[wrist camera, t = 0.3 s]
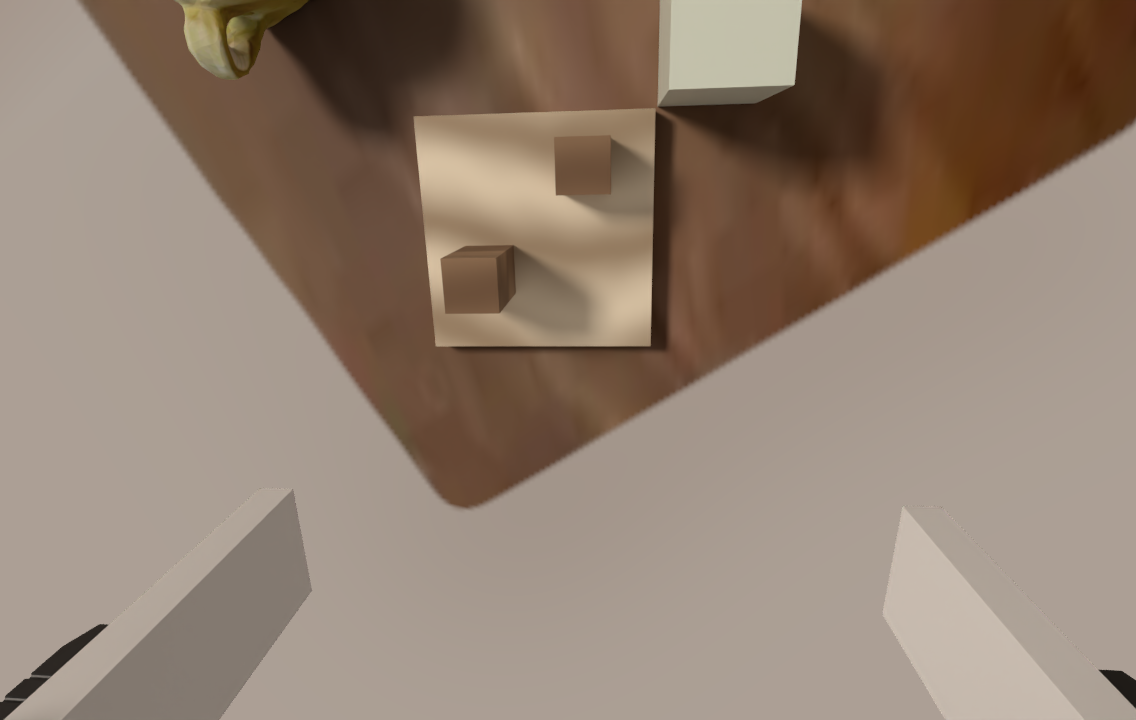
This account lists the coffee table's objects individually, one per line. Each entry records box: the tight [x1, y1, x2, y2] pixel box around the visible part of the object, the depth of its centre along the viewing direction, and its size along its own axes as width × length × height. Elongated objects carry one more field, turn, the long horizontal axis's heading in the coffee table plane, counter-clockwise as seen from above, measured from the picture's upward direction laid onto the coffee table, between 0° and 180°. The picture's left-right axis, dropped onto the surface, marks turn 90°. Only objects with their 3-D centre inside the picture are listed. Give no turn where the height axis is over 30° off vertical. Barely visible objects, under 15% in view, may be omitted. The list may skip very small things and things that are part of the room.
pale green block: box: [658, 0, 802, 107], centre depth 29 cm, size 6×6×8 cm
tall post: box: [440, 245, 516, 314], centre depth 34 cm, size 3×3×6 cm
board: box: [413, 108, 655, 346], centre depth 35 cm, size 14×14×4 cm
